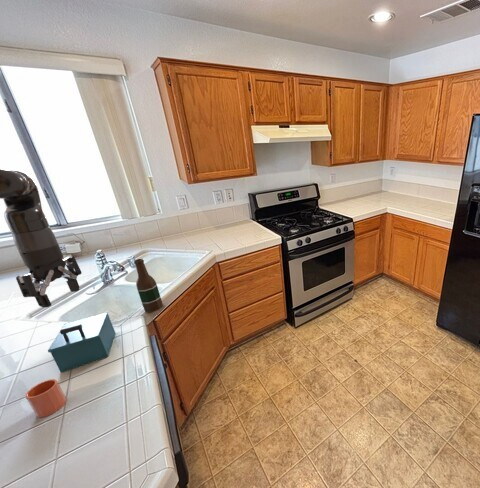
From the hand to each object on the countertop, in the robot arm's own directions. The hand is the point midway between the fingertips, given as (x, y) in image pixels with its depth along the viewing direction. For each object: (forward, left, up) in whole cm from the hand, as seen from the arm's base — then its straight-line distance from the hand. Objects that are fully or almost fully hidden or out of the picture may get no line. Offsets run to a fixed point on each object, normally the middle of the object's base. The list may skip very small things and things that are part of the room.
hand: (61, 298), depth 76 cm
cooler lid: (-4, +14, -19) cm, 24 cm away
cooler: (-4, +15, -28) cm, 31 cm away
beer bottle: (+15, +36, -28) cm, 48 cm away
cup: (-8, -9, -28) cm, 30 cm away
